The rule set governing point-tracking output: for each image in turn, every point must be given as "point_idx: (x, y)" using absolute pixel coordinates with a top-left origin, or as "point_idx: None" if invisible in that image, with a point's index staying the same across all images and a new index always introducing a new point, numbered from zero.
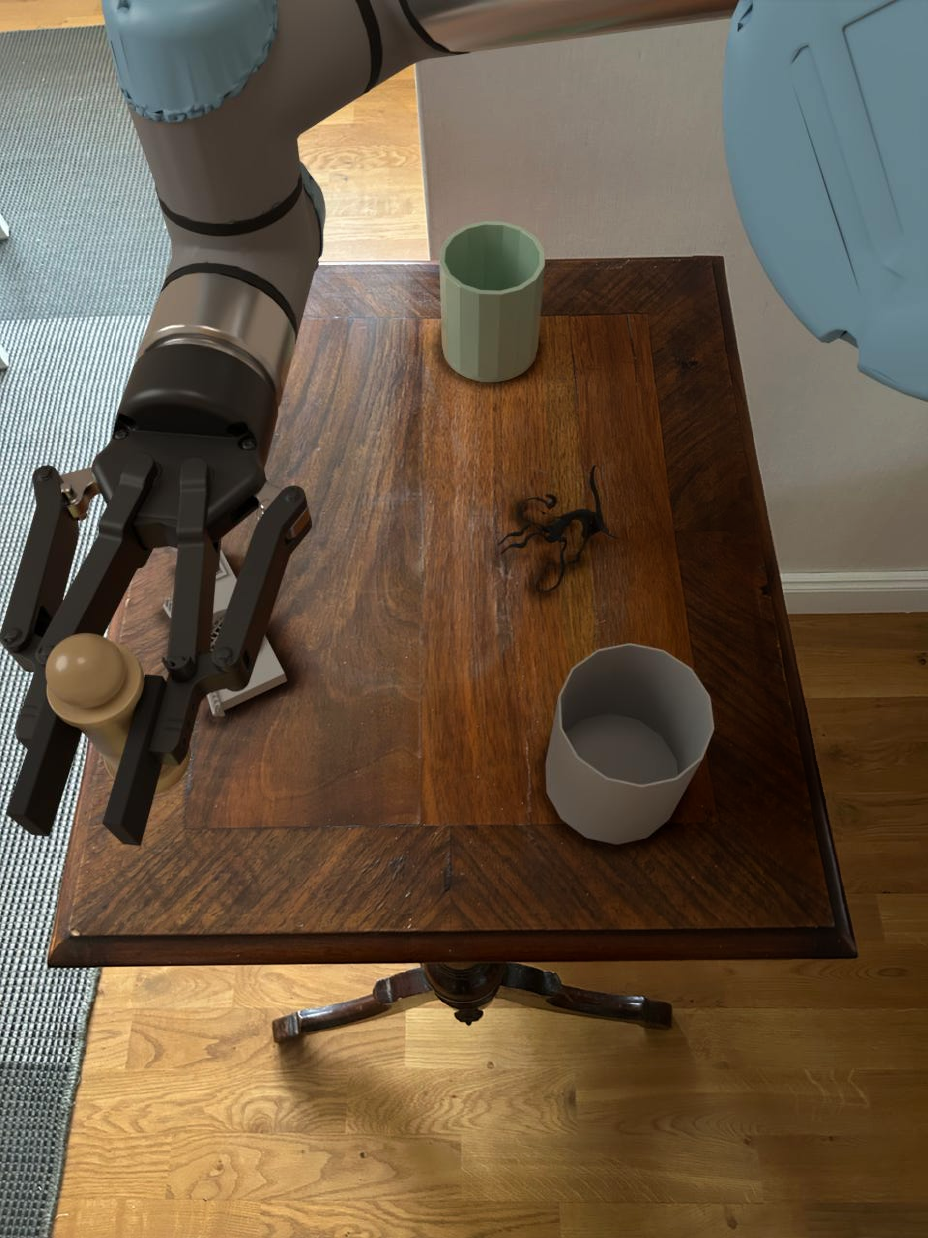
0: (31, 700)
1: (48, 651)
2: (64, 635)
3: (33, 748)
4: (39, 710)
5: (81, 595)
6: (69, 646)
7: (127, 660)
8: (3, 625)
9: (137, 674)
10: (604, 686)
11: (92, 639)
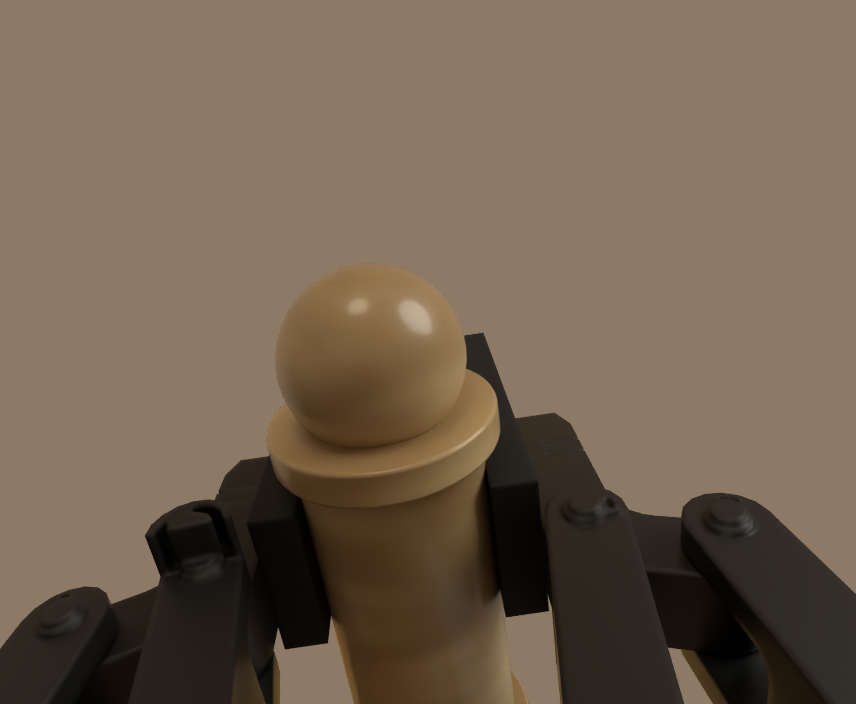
0: (571, 460)
1: (582, 500)
2: (576, 556)
3: (489, 380)
4: (538, 448)
5: (608, 682)
6: (373, 275)
7: (305, 451)
8: (787, 532)
9: (274, 438)
10: None
11: (325, 307)
